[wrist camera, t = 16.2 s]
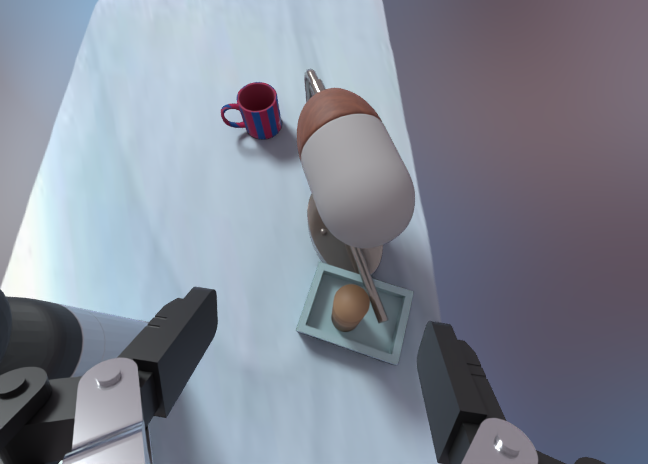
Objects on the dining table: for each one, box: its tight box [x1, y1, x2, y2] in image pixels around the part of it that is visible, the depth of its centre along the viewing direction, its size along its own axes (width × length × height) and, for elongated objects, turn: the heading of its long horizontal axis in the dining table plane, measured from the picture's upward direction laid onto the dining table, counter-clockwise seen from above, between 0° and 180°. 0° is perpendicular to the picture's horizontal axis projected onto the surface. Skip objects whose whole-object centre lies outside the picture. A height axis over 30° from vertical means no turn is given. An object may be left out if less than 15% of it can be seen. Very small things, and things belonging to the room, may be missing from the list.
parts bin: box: [296, 262, 414, 365], centre depth 44 cm, size 10×14×3 cm
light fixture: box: [297, 69, 415, 324], centre depth 41 cm, size 11×22×34 cm
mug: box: [221, 82, 282, 139], centre depth 55 cm, size 7×10×7 cm
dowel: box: [331, 284, 370, 332], centre depth 39 cm, size 4×4×11 cm
